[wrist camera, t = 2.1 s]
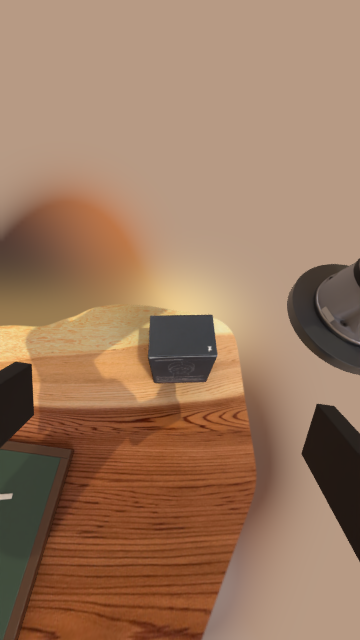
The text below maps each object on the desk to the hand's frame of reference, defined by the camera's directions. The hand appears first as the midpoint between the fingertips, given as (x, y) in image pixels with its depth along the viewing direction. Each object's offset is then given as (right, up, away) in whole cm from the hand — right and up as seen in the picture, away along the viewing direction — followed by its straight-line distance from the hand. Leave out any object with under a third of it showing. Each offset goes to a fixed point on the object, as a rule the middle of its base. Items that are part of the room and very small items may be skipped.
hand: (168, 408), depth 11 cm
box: (0, -3, +26) cm, 26 cm away
